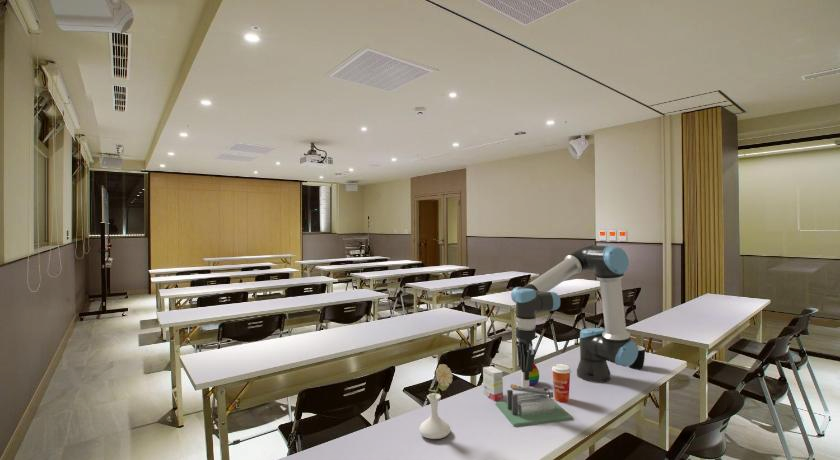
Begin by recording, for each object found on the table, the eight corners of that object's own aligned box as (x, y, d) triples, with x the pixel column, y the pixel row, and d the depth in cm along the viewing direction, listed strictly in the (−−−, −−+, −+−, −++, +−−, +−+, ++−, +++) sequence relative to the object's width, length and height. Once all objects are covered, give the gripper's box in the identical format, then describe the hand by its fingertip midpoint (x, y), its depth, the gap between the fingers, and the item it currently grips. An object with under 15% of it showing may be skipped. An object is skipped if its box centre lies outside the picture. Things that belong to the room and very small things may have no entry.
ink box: (503, 399, 171) (503, 371, 170) (494, 401, 169) (493, 373, 168) (492, 391, 178) (491, 365, 178) (483, 393, 176) (482, 367, 176)
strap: (547, 392, 162) (548, 389, 162) (551, 395, 158) (552, 392, 158) (509, 387, 158) (510, 383, 158) (513, 390, 155) (513, 387, 155)
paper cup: (549, 399, 169) (548, 367, 168) (556, 393, 174) (556, 362, 174) (567, 405, 163) (566, 371, 163) (574, 399, 169) (574, 366, 169)
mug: (648, 367, 202) (648, 347, 202) (639, 371, 197) (639, 351, 197) (625, 361, 212) (625, 342, 212) (616, 364, 207) (615, 345, 207)
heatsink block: (544, 401, 165) (543, 384, 165) (556, 412, 155) (556, 395, 155) (510, 405, 162) (510, 388, 162) (521, 417, 152) (521, 399, 152)
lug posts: (512, 410, 160) (511, 389, 160) (517, 416, 155) (517, 395, 155) (507, 411, 160) (507, 390, 159) (512, 417, 154) (512, 395, 154)
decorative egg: (539, 387, 181) (538, 365, 181) (520, 385, 184) (520, 364, 184) (539, 380, 189) (539, 359, 189) (522, 378, 192) (521, 358, 191)
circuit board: (548, 398, 170) (548, 396, 170) (572, 419, 152) (572, 416, 152) (495, 404, 165) (495, 402, 165) (513, 426, 148) (513, 423, 148)
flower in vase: (427, 445, 136) (425, 373, 136) (414, 430, 147) (412, 363, 146) (460, 436, 142) (458, 367, 141) (445, 422, 152) (444, 357, 152)
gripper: (510, 324, 163) (509, 381, 164) (524, 332, 151) (523, 394, 151) (527, 323, 165) (526, 380, 165) (542, 331, 152) (541, 393, 152)
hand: (525, 387), depth 158 cm, fingers closed
